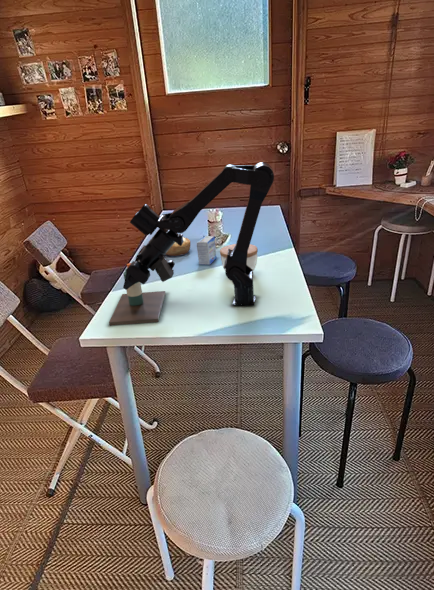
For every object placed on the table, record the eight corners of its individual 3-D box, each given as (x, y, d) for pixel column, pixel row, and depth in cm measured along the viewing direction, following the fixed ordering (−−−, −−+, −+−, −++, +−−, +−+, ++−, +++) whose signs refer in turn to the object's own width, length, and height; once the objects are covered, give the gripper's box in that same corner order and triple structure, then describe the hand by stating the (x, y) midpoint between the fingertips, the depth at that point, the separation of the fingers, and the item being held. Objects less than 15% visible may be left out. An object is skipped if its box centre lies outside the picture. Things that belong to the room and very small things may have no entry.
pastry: (157, 257, 174) (153, 235, 170) (169, 247, 184) (166, 226, 179) (184, 258, 170) (181, 235, 166) (195, 248, 180) (193, 227, 176)
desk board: (158, 322, 123) (157, 318, 123) (109, 325, 124) (108, 322, 123) (165, 293, 141) (165, 290, 140) (122, 296, 141) (122, 294, 141)
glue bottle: (144, 304, 132) (137, 265, 126) (129, 306, 131) (121, 267, 125) (143, 298, 136) (136, 260, 130) (128, 301, 135) (121, 262, 129)
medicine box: (209, 265, 161) (207, 242, 157) (198, 264, 162) (196, 242, 158) (216, 258, 167) (214, 236, 163) (205, 257, 169) (203, 235, 165)
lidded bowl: (249, 265, 157) (247, 235, 152) (264, 276, 147) (263, 244, 141) (216, 272, 154) (214, 242, 148) (230, 284, 143) (227, 252, 138)
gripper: (175, 275, 118) (142, 313, 125) (185, 253, 134) (155, 287, 141) (142, 249, 115) (110, 289, 122) (156, 229, 131) (127, 265, 138)
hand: (128, 283), depth 131 cm, fingers open, 8 cm apart
